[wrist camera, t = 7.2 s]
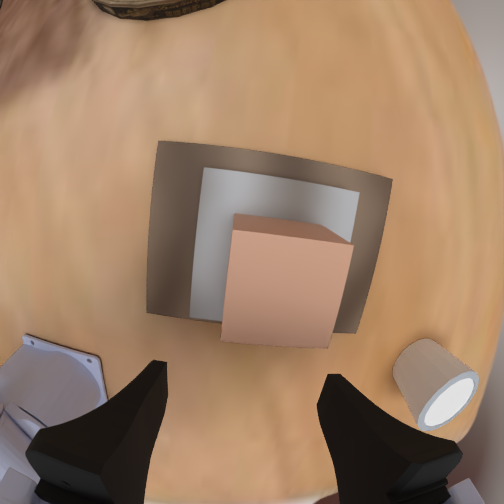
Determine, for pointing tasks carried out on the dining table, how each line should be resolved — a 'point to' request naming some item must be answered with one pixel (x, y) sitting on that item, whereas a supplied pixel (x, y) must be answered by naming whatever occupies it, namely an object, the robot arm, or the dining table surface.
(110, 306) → the dining table surface
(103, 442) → the robot arm
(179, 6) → the wood slice coaster
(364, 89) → the dining table surface
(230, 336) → the terracotta block
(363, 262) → the walnut base
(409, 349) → the grey cup
